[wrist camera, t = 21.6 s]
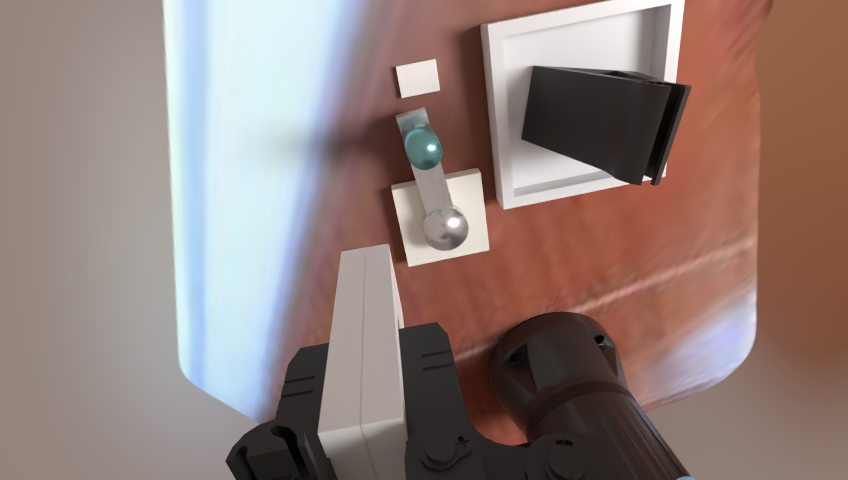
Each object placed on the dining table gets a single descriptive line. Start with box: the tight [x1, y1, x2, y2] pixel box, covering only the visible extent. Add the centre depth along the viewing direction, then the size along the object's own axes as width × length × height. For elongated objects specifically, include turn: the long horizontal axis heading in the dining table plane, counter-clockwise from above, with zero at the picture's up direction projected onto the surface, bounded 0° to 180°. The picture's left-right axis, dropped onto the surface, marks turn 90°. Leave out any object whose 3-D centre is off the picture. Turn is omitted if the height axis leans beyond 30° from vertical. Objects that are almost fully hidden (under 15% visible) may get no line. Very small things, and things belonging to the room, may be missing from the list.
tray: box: [480, 0, 685, 210], centre depth 35 cm, size 15×15×2 cm
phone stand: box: [521, 65, 691, 186], centre depth 30 cm, size 9×6×12 cm, turn 86°
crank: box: [395, 106, 469, 251], centre depth 33 cm, size 12×4×7 cm, turn 17°
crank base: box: [391, 59, 489, 267], centre depth 37 cm, size 18×8×1 cm, turn 10°
